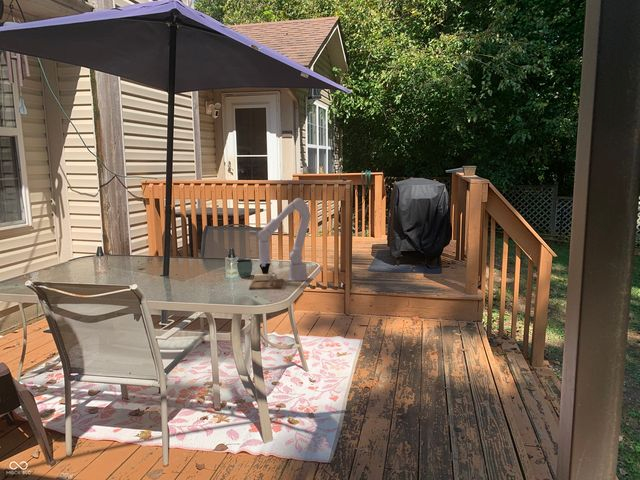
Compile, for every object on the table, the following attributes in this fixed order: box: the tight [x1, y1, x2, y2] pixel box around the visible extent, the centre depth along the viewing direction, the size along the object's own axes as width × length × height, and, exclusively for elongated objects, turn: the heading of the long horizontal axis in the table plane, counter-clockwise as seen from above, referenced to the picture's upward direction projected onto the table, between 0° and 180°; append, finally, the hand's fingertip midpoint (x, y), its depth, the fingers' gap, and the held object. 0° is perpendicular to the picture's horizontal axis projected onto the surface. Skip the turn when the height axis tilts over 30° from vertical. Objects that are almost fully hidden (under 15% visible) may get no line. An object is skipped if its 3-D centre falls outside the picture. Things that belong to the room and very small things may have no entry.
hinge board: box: [248, 273, 284, 290], centre depth 260 cm, size 16×18×6 cm
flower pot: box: [235, 258, 253, 278], centre depth 282 cm, size 9×9×9 cm
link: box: [253, 272, 278, 281], centre depth 266 cm, size 12×4×4 cm, turn 90°
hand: (265, 277), depth 269 cm, fingers closed
